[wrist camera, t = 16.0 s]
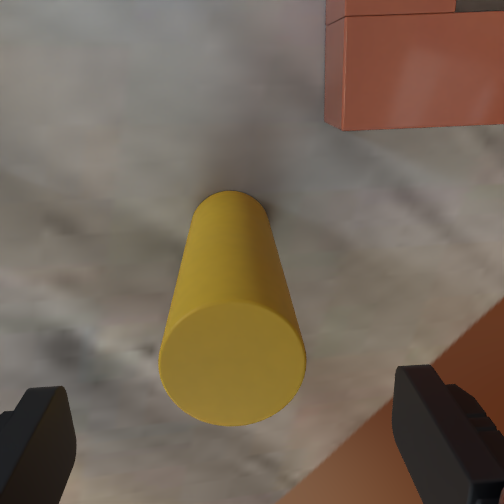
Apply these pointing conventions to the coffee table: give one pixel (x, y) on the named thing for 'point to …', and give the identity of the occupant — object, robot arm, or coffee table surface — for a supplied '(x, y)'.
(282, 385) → the yellow peg
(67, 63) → the coffee table surface
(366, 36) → the peg stand
